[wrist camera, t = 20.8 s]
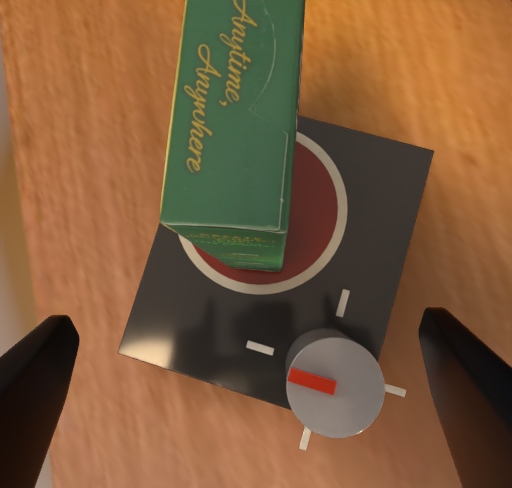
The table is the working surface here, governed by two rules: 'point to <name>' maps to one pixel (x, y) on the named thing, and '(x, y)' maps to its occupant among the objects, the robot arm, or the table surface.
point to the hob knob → (333, 383)
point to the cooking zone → (293, 228)
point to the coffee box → (235, 129)
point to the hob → (293, 300)
